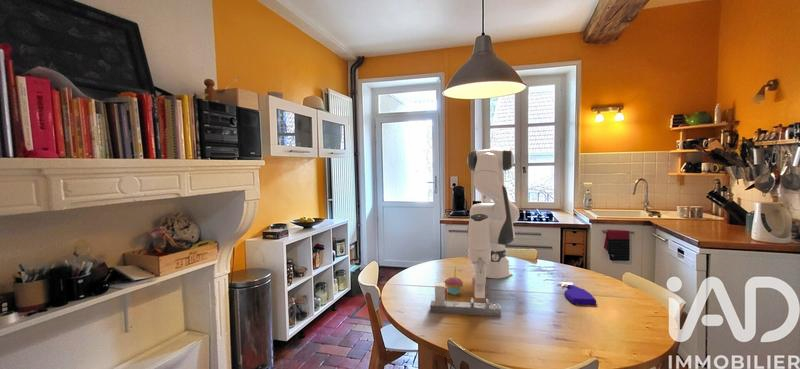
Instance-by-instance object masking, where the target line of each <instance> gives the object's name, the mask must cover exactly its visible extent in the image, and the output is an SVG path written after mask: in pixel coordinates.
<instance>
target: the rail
mask: <svg viewBox="0 0 800 369" xmlns="http://www.w3.org/2000/svg"><path fill="white" fill-rule="evenodd" d="M474 300H475V297H471V298H470V302H468V301H448V289H447V286H445V282H435V285H434V300H431V301H430V305H429V308H430V313H434V314H450V315H465V316H467V315H470V316H485V317H486V316H488V317H502V308H501V305H500V303H490V302H489V301H490V300H489V298H485V302H475V301H474Z"/></svg>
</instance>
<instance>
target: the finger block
mask: <svg viewBox="0 0 800 369" xmlns="http://www.w3.org/2000/svg"><path fill="white" fill-rule="evenodd" d="M471 278H472V289H471V290H472V293H474V299H486V285H483V291H482V292H479V291H478V285H476V279H475V274H474V275H473V277H471Z"/></svg>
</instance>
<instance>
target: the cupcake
mask: <svg viewBox="0 0 800 369" xmlns="http://www.w3.org/2000/svg"><path fill="white" fill-rule="evenodd" d="M456 272H457V268H456V266H455V267H454V271H453V273H454V275H453V277H449V278H447V279H446V280H445V281H444V283H445V286H447V293H448V294H449V293H450V295H452V294H453V296H454V295H455V296H456V295H458V294H460V290H461V288H463V285H464V283H463V281H462V279H460V278H458V277H456V274H457V273H456Z"/></svg>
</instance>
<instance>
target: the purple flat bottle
mask: <svg viewBox="0 0 800 369" xmlns="http://www.w3.org/2000/svg"><path fill="white" fill-rule="evenodd" d="M574 283H575V282H569V281H568V282H564V281H559V282H558V281H557V282H556V284H557V285H559V286H561V287H566V288H567V289H566V290H564V292H563V295H564V297H565V298H566V299H567V300H568V301H569V302H570V303H571V304H574V305H576V304H577V305H578V306H596V305H597V300H596V298H595V297H594V296H593V295H592V294H591V293H590V292H589V291H588V290H586V289H584V288H581V287H579V286H576V285H575V284H574ZM577 305H576V306H577Z"/></svg>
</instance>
